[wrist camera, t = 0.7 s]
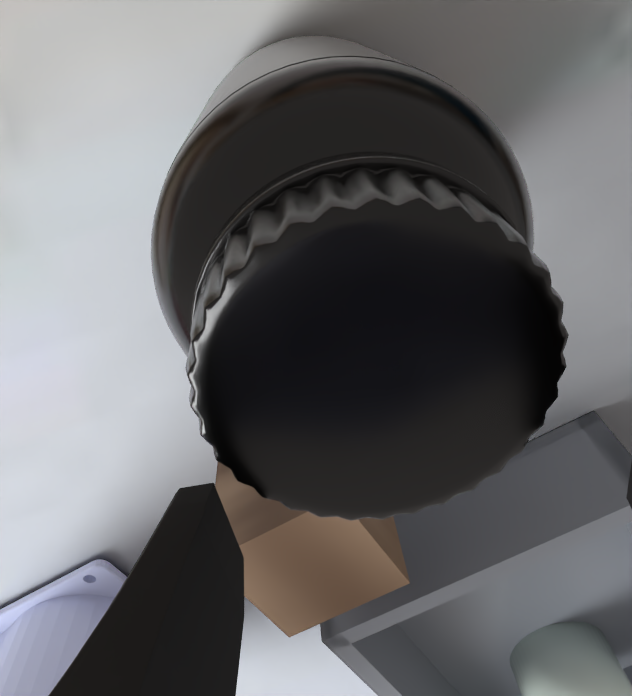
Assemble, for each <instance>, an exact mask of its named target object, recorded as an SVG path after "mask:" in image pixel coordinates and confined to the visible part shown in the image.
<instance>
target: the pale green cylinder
mask: <svg viewBox="0 0 632 696" xmlns="http://www.w3.org/2000/svg"><path fill="white" fill-rule="evenodd" d="M510 666H511V668H512V671H513V674H514V676H515V679H516V682H517V685H518V687H519V690H520V693H521V695H522V696H632V685H631V683H630V681H629V679H628V677H627V675H626V674H625V672H624V670H623V668H622V666H621V664H620V663H619V661H618V659H617V657H616V655H615V653H614V651H613V650H612V648H611V646H610V644H609V642H608V640H607V639H606V637H605V635H604V633H603V632H602V631H601V630H600V629H599V628H598V627H596V626H594V625H592V624H589V623H585V622H575V621H572V622H560V623H555V624H552V625H548V626H545V627H542V628H540V629H538V630H536V631H534V632H532V633H530V634H529V635H527V636H526V637H524V638H523V639H522V640H521V641H520V642H519V643H518V644H517V645H516V646H515V647H514V649H513V651H512V652H511V655H510Z"/></svg>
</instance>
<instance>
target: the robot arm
mask: <svg viewBox="0 0 632 696" xmlns="http://www.w3.org/2000/svg"><path fill="white" fill-rule="evenodd" d="M626 498H627V500H628V502H629V504H630V507H631V509H632V462H631V469H630V476H629V483H628V489H627V496H626ZM243 621H244V557H243V554H242V552H241V549H240V547H239V544H238V542H237V539H236V537H235V534H234V532H233V530H232V527H231V525H230V522H229V520H228V517H227V515H226V512H225V510H224V507H223V505H222V502H221V500H220V497H219V495H218V492H217V490H216V487H215V485H214V483H209V484H203V485H197V486H191V487H185V488H180V489H179V490H178V491H177V493H176V494H175V496H174V498H173V499H172V501H171V503H170V505H169V506H168V508H167V510H166V512H165V513H164V515H163V517H162V519H161V521H160V522H159V524H158V526H157V528H156V529H155V531H154V533H153V535H152V536H151V538H150V540H149V542H148V543H147V545H146V547H145V548H144V550H143V552H142V554H141V555H140V557H139V559H138V560H137V562H136V564H135V565H134V567H133V569H132V570H131V572H130V574H129V575H128V577H127V576H125V575H124V574H123V573H122V572H120V571H119V570H118V569H117V568H116V567H114V566H113V565H112V564H111V563H109V562H108V561H106V560H102V559H101V560H94V561H92V562H90V563H88V564H86V565H84V566H82V567H80V568H79V569H77V570H75V571H73V572H71V573H69V574H67V575H65V576H63V577H61V578H59V579H57V580H56V581H54V582H52V583H50V584H48V585H46V586H44V587H42V588H40V589H38V590H36V591H35V592H33V593H31V594H29V595H27V596H25V597H23V598H21V599H19V600H17V601H15V602H14V603H12V604H10V605H8V606H6V607H4V608H2V609H0V696H235V694H236V685H237V676H238V668H239V658H240V649H241V640H242V631H243Z"/></svg>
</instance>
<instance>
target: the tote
mask: <svg viewBox="0 0 632 696" xmlns="http://www.w3.org/2000/svg"><path fill="white" fill-rule="evenodd" d="M631 462H632V456H631V455H630V454H629V452H628V451H627V450H626V449H625V448H624V446H623V445H622V444H621V443H620V441H619V440H618V439H617V438H616V437H615V435H614V434H613V433H612V432H611V431H610V429H609V428H608V427H607V426H606V425H605V423H604V422H603V421H602V420H601V419H600V417H599V416H598V415H597V414H596V413H595V411H592V412H590V413H588V414H586V415H584V416H582V417H580V418H578V419H576V420H574V421H572V422H570V423H568V424H565V425H563V426H561V427H559V428H557V429H555V430H553V431H551V432H549V433H547V434H545V435H543V436H541V437H538V438H536V439H534V440H532V441H530V442H528V443H527V445H526V447H525V449H524V450H523V451H522V452H520V453H519V454H517V455H516V456H514V457H512V458H511V459H509V460H508V462H507V463H506V465H505V466H504V468H503V469H502V470H501V472H499V473H497V474H495V475H493V476H490V477H488V478H486V479H484V480H483V481H482V482H481V483H480V484H479V485H478V486H477V487H476V488H475V489H474V490H472V491H469V492H465V493H462V494H458V495H456V496H455V497H454V498H452V499H451V500H450V501H448V502H447V503H445V504H442V505H436V506H429V507H427V508H425V509H423V510H421V511H419V512H417V513H415V514H398V515H395V516H393V517H394V521H395V525H396V529H397V533H398V537H399V541H400V545H401V549H402V553H403V557H404V561H405V565H406V569H407V573H408V577H409V581H410V583H409V584H407V585H405V586H403V587H400V588H398V589H396V590H394V591H391V592H389V593H387V594H385V595H383V596H380V597H378V598H376V599H374V600H371V601H369V602H367V603H365V604H362V605H360V606H358V607H356V608H354V609H351V610H349V611H347V612H345V613H342V614H340V615H338V616H336V617H333V618H331V619H329V620H327V621H325V622H322V623H320V627H321V638H322V642H323V643H324V644H325V645H326V646H327V647H328V648H329V649H330V650H331V651H332V652H333V653H334V654H335V655H337V656H338V657H339V658H340V659H341V660H342V661H343V662H344V663H345V664H346V665H347V666H348V667H349V668H350V669H351V670H352V671H353V672H354V673H355V674H356V675H357V676H358V677H359V678H360V679H361V680H362V681H363V682H364V683H366V684H367V685H368V686H369V687H370V688H371V689H372V690H373V691H374V692H375V693H376V694H377V695H378V696H522V695H521V693H520V690H519V687H518V685H517V682H516V679H515V676H514V674H513V671H512V668H511V666H510V655H511V652H512V651H513V649H514V647H515V646H516V645H517V644H518V643H519V642H520V641H521V640H522V639H523V638H524V637H526V636H527V635H529V634H530V633H532V632H534V631H536V630H538V629H540V628H542V627H545V626H548V625H552V624H555V623H560V622H572V621H575V622H585V623H589V624H592V625H594V626H596V627H598V628H599V629H600V630H601V631H602V632H603V633H604V635H605V637H606V639H607V640H608V642H609V644H610V646H611V648H612V650H613V651H614V653H615V655H616V657H617V659H618V661H619V663H620V664H621V666H622V668H623V670H624V672H625V674H626V675H627V677H628V679H629V681H630V683H631V685H632V509H631V507H630V504H629V502H628V500H627V498H626V496H627V489H628V483H629V476H630V469H631Z"/></svg>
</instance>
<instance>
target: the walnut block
mask: <svg viewBox="0 0 632 696" xmlns="http://www.w3.org/2000/svg"><path fill="white" fill-rule="evenodd" d="M215 487H216V490H217V492H218V495H219V497H220V500H221V502H222V505H223V507H224V510H225V512H226V515H227V517H228V520H229V522H230V525H231V527H232V530H233V532H234V534H235V537H236V539H237V542H238V544H239V547H240V549H241V552H242V554H243V557H244V596H245V597H246V598H247V599H248V600H249V601H250V602H251V603H252V604H253V605H255V606H256V607H257V608H258V609H259V610H260V611H261V612H262V613H263V614H264V615H265V616H266V617H268V618H269V619H270V620H271V621H272V622H273V623H274V624H275V625H276V626H277V627H278V628H280V629H281V630H282V631H283V632H284V633H285V634H286V635H287V636H288V637H291V636H293V635H296V634H298V633H300V632H302V631H304V630H307V629H309V628H311V627H313V626H316V625H318V624H320V623H322V622H325V621H327V620H329V619H331V618H333V617H336V616H338V615H340V614H342V613H345V612H347V611H349V610H351V609H354V608H356V607H358V606H360V605H362V604H365V603H367V602H369V601H371V600H374V599H376V598H378V597H380V596H383V595H385V594H387V593H389V592H391V591H394V590H396V589H398V588H400V587H403V586H405V585H407V584H409V583H410V581H409V577H408V573H407V569H406V565H405V561H404V557H403V553H402V549H401V545H400V541H399V537H398V533H397V529H396V525H395V521H394V517H393V516H392V517H389V518H386V519H383V520H382V519H374V518H363V519H359V520H353V521H350V520H346V519H343V518H340V517H323V518H320V517H318V516H316V515H313V514H312V513H310V512H308V511H297V510H290V509H289V508H287V507H286V506H284V505H283V504H282V503H281V502H279V501H275V500H270V499H266V498H263V497H262V496H260V495H259V494H258V492H257V491H256V490H255V489H254V487H251V486H249V485H245V484H243V483H240V482H238V481H237V480H236V478H235V477H234V475H233V473H232V470H231V469H230V468H228V467H226V466H225V465H223V464H221V463H220V462H219V461H218V466H217V475H216V484H215Z"/></svg>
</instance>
